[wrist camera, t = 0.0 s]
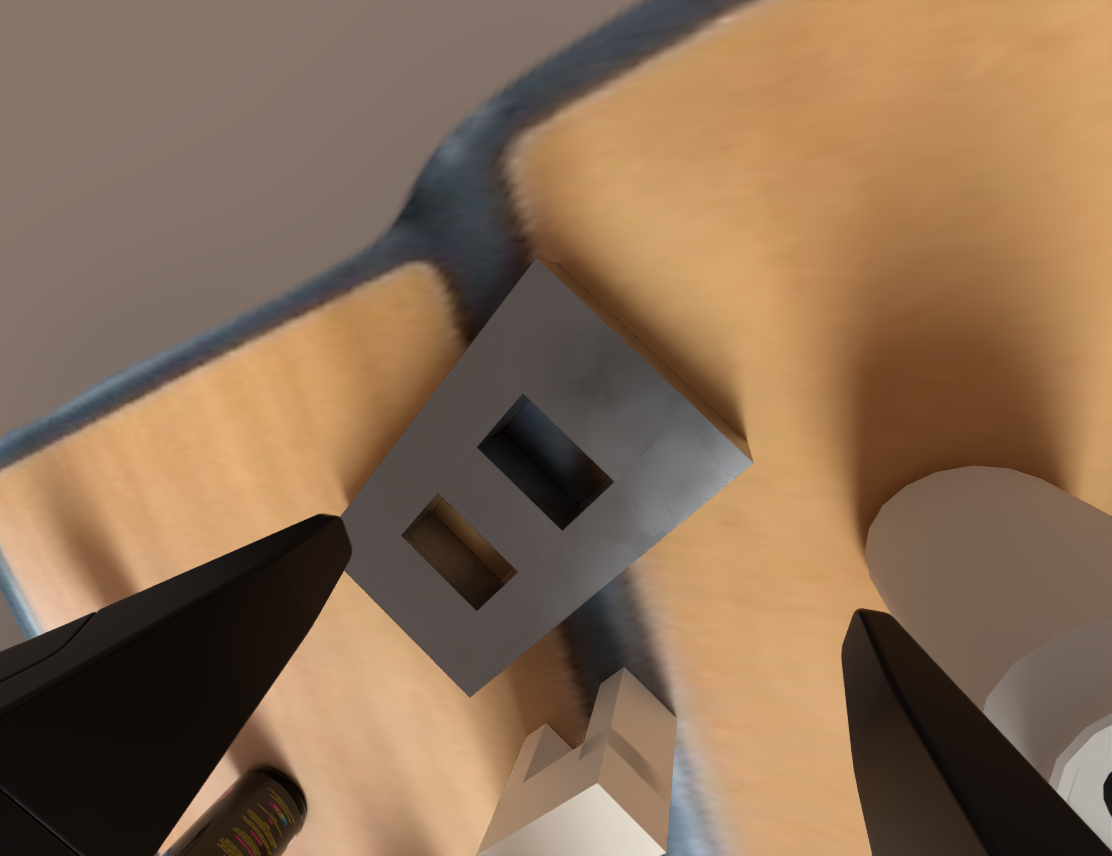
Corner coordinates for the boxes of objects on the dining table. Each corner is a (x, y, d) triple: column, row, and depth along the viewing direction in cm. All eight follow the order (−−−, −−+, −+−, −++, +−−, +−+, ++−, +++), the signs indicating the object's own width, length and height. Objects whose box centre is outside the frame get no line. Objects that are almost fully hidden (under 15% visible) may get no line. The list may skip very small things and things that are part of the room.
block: (572, 783, 30) (534, 915, 24) (526, 736, 30) (476, 855, 24) (676, 718, 27) (666, 852, 20) (624, 666, 27) (597, 783, 20)
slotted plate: (492, 660, 29) (469, 697, 27) (355, 522, 30) (318, 544, 27) (747, 442, 22) (753, 462, 19) (557, 263, 22) (536, 257, 20)
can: (820, 527, 22) (935, 761, 11) (987, 421, 19) (1377, 590, 8) (937, 650, 22) (1175, 1016, 11) (1122, 560, 19) (1717, 935, 8)
